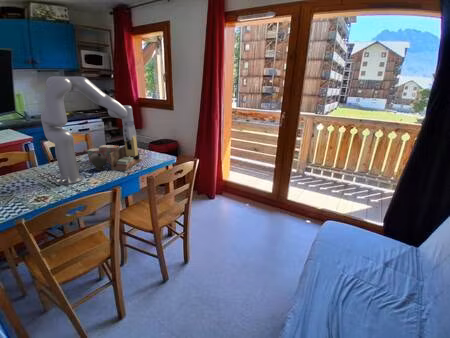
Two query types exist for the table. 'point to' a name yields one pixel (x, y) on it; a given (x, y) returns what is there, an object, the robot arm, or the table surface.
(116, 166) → the shelf
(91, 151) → the stack of blocks
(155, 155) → the table surface
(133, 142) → the book
